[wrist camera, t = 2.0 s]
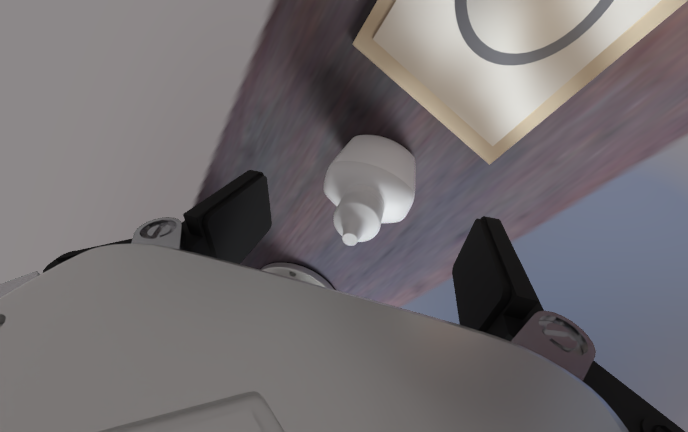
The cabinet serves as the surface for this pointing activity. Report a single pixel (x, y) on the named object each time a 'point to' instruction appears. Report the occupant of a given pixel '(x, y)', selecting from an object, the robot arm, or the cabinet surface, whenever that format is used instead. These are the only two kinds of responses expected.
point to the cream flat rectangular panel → (501, 57)
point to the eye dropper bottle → (370, 186)
